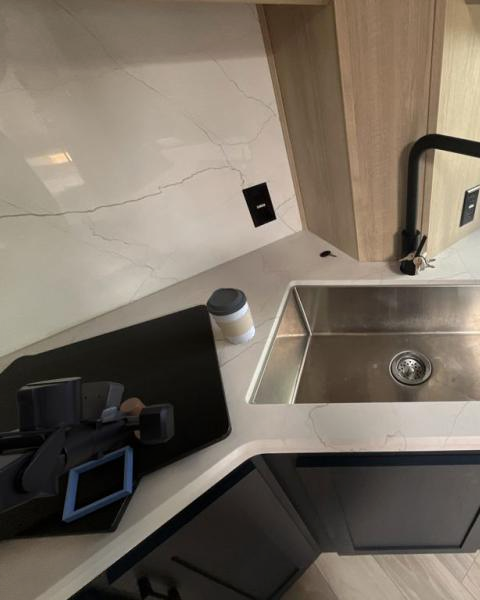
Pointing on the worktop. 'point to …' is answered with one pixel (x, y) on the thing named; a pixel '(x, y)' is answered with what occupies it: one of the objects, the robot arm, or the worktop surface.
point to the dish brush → (133, 410)
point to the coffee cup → (231, 314)
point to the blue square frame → (71, 495)
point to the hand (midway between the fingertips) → (144, 413)
